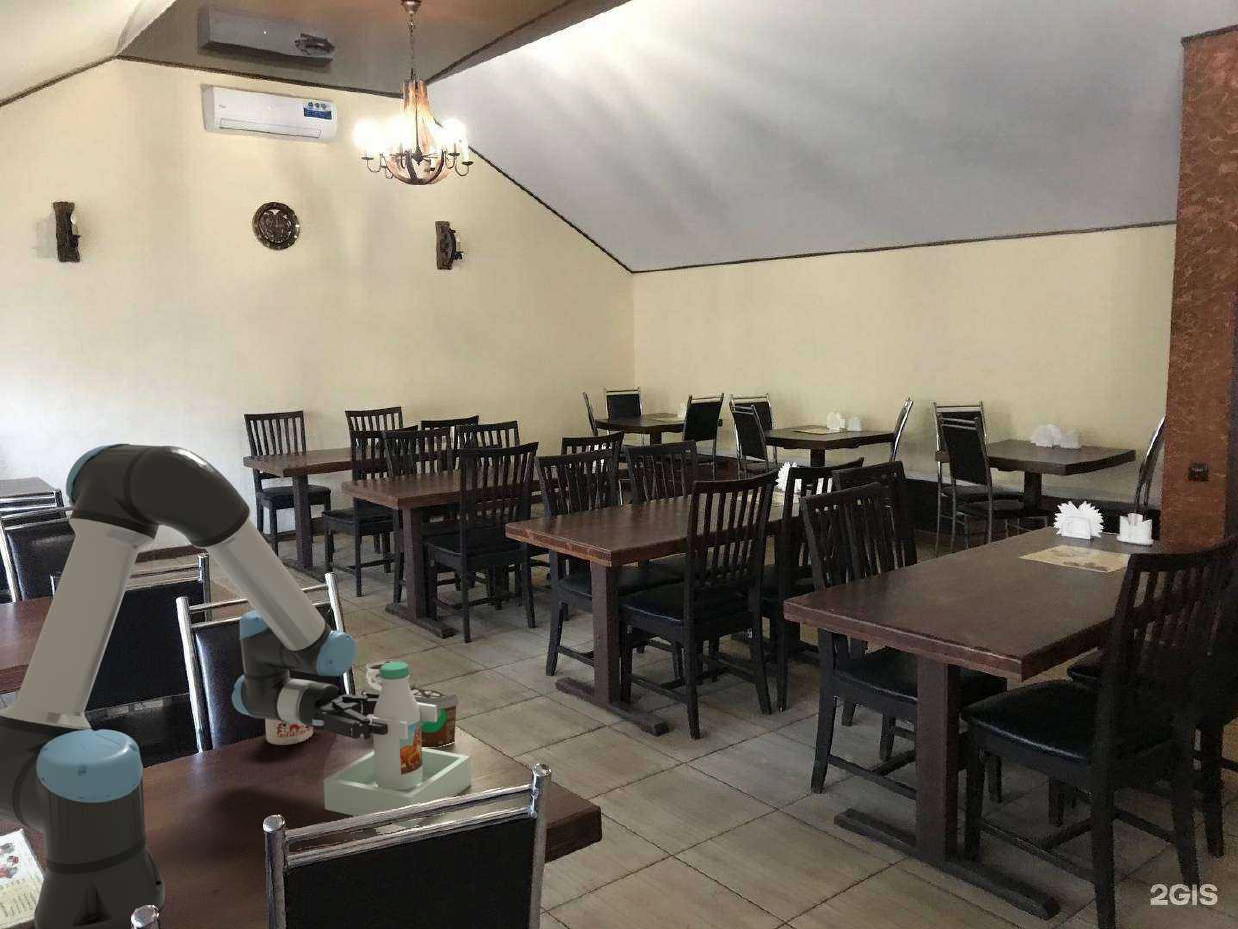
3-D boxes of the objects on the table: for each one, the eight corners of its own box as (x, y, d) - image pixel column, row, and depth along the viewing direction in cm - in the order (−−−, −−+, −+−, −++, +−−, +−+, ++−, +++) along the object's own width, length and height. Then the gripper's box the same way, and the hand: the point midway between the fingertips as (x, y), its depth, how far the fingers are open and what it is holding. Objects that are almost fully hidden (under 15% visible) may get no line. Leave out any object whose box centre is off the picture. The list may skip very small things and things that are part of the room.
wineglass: (360, 725, 191) (358, 667, 190) (383, 714, 198) (380, 657, 196) (388, 730, 189) (385, 671, 187) (409, 719, 195) (407, 661, 193)
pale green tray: (411, 828, 148) (410, 797, 148) (325, 809, 155) (323, 779, 155) (471, 784, 164) (470, 756, 163) (390, 768, 171) (389, 741, 170)
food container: (390, 742, 183) (388, 691, 182) (414, 731, 188) (412, 682, 187) (436, 756, 176) (434, 703, 175) (460, 745, 181) (458, 693, 180)
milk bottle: (384, 796, 154) (378, 676, 152) (369, 779, 160) (364, 663, 158) (429, 784, 158) (425, 667, 156) (413, 768, 164) (409, 655, 162)
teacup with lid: (276, 750, 180) (273, 690, 178) (257, 737, 186) (254, 679, 185) (336, 733, 188) (333, 675, 186) (316, 721, 194) (313, 665, 193)
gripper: (351, 705, 175) (457, 722, 166) (270, 746, 157) (383, 768, 147) (349, 665, 174) (455, 680, 165) (267, 702, 156) (381, 721, 146)
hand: (421, 722), depth 156 cm, fingers closed on milk bottle, 7 cm apart
